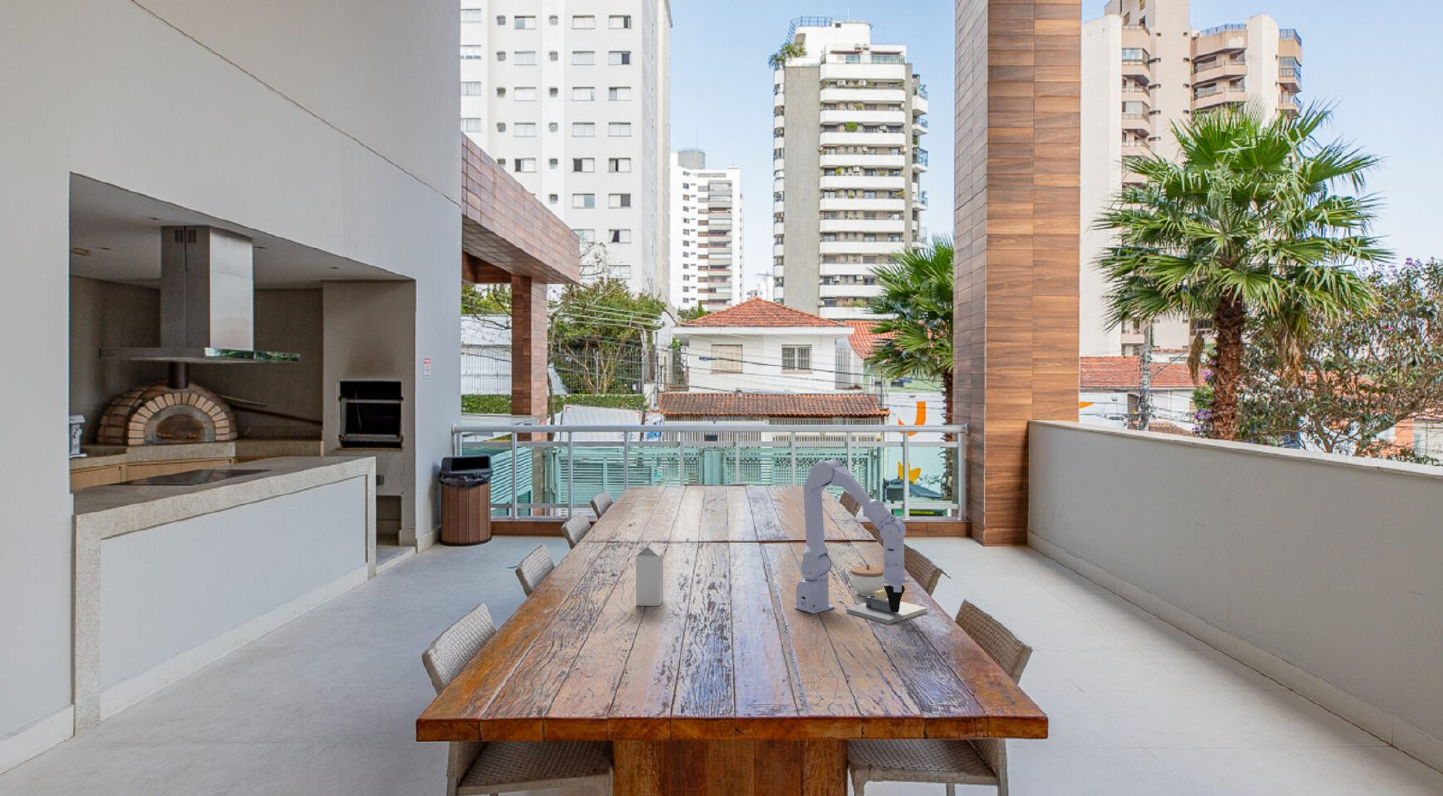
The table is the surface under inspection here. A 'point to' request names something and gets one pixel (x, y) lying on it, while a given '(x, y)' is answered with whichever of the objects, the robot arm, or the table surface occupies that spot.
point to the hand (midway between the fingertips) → (894, 611)
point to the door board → (883, 616)
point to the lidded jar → (867, 579)
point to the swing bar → (878, 603)
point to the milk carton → (649, 575)
